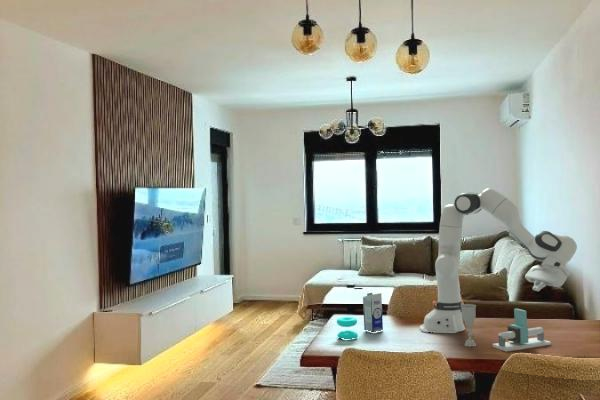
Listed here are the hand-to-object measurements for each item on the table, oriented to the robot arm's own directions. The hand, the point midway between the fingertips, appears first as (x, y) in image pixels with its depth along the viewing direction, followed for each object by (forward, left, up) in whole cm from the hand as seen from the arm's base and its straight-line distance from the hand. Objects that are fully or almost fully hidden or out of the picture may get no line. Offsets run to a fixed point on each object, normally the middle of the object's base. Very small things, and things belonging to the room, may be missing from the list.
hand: (535, 290), depth 249 cm
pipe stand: (-8, -4, -24) cm, 26 cm away
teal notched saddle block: (-9, -4, -22) cm, 24 cm away
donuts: (-86, +13, -24) cm, 90 cm away
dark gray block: (-12, -5, -22) cm, 25 cm away
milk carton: (-73, +26, -24) cm, 81 cm away
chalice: (-30, -2, -24) cm, 39 cm away
